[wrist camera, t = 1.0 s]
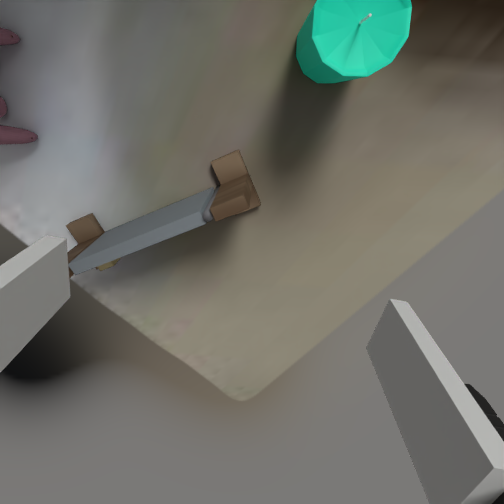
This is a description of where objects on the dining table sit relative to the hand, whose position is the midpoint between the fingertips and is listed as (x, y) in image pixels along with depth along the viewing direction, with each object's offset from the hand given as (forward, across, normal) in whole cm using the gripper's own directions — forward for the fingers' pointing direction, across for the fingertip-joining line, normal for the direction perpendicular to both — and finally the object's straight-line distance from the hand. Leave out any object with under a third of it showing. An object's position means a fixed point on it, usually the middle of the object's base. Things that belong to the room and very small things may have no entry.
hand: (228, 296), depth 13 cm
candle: (+23, +5, +12) cm, 27 cm away
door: (+22, -8, -7) cm, 25 cm away
